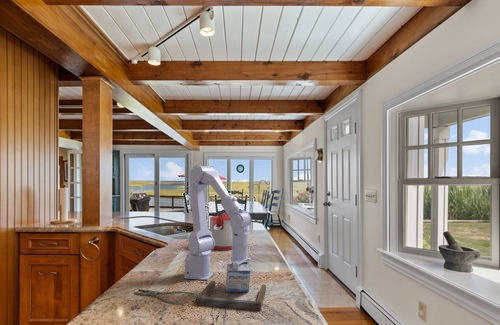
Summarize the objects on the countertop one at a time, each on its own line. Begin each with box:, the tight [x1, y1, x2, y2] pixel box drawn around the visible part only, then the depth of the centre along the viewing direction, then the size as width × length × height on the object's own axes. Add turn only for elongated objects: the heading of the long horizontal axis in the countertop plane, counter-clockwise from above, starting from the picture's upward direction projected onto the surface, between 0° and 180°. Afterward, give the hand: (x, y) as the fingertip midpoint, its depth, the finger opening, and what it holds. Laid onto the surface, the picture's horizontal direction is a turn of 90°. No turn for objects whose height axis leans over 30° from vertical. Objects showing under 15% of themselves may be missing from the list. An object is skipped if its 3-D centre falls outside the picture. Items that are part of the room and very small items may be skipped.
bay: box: [196, 280, 267, 311], centre depth 98 cm, size 20×16×2 cm
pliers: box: [133, 289, 195, 306], centre depth 96 cm, size 10×1×20 cm
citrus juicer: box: [209, 211, 232, 251], centre depth 165 cm, size 16×17×20 cm
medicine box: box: [225, 263, 251, 293], centre depth 103 cm, size 8×4×9 cm, turn 97°
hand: (238, 283), depth 107 cm, fingers closed
